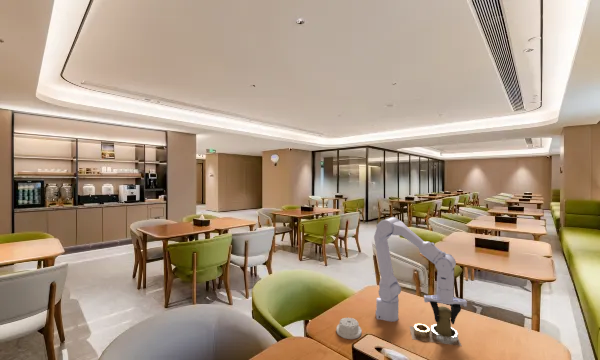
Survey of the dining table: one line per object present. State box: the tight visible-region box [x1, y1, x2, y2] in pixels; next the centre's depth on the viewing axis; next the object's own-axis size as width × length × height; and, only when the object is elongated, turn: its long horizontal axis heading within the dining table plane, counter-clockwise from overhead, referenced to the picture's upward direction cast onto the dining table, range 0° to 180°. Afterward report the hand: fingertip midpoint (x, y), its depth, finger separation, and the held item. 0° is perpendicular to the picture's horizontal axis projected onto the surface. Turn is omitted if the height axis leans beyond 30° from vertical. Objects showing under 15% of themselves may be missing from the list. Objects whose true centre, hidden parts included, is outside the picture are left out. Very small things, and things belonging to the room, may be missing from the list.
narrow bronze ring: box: [413, 323, 431, 338], centre depth 112 cm, size 6×6×2 cm
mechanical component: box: [335, 316, 363, 340], centre depth 115 cm, size 10×4×10 cm
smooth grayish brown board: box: [408, 325, 462, 347], centre depth 111 cm, size 17×9×1 cm, turn 76°
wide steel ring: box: [430, 323, 459, 346], centre depth 110 cm, size 9×9×2 cm
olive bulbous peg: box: [435, 305, 452, 337], centre depth 110 cm, size 6×6×11 cm
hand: (444, 321), depth 110 cm, fingers closed on olive bulbous peg, 5 cm apart
